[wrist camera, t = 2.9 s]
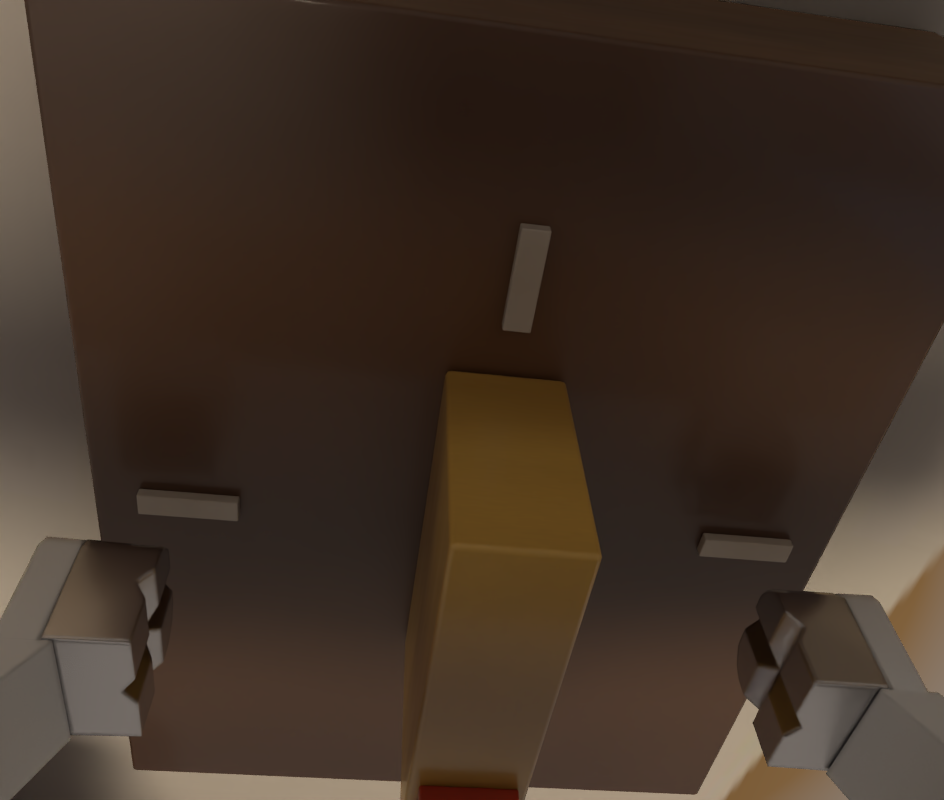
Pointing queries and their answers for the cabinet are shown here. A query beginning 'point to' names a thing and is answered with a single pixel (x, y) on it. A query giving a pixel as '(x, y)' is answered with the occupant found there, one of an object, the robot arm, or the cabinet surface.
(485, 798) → the lock knob
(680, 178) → the plate
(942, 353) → the cabinet surface
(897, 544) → the cabinet surface
